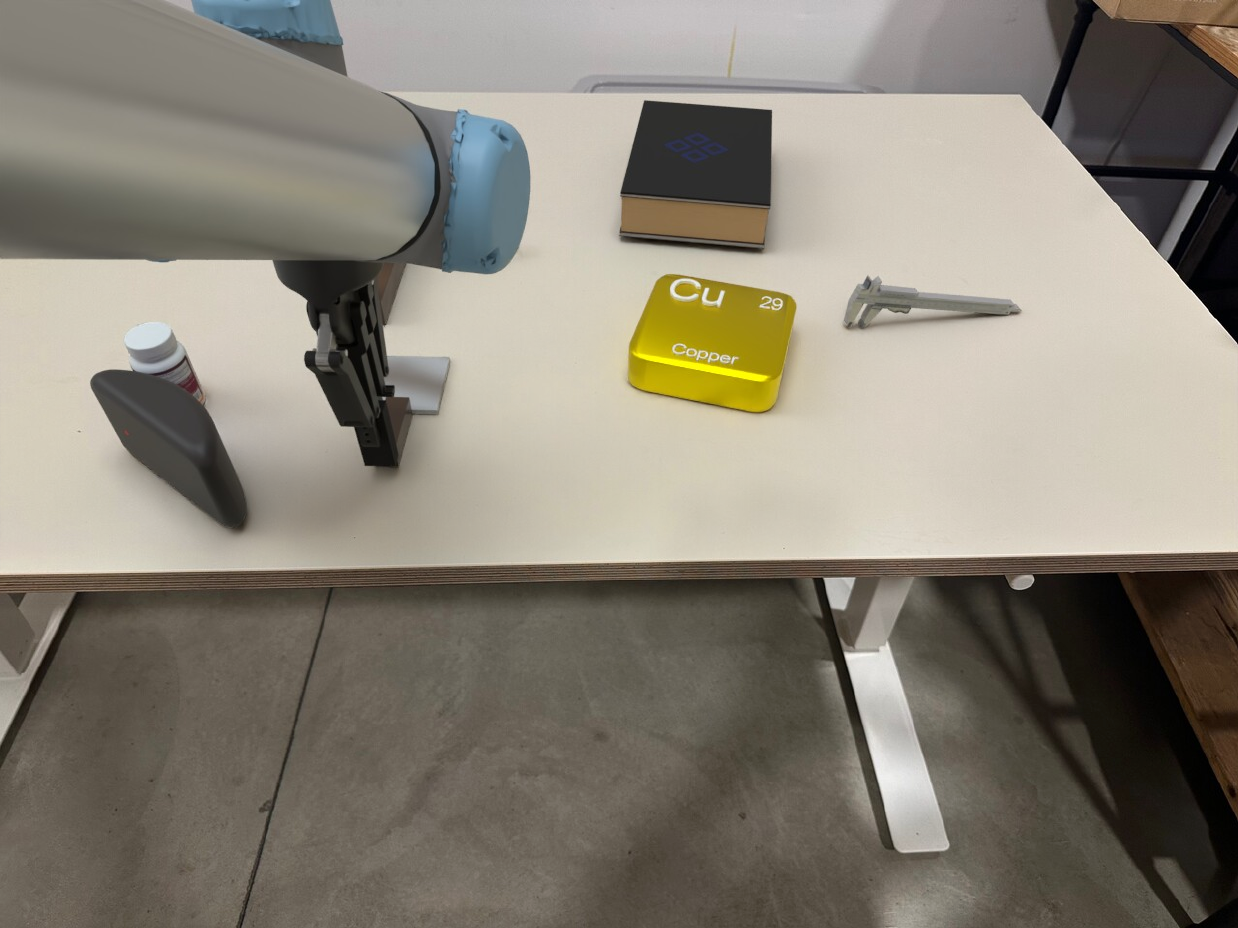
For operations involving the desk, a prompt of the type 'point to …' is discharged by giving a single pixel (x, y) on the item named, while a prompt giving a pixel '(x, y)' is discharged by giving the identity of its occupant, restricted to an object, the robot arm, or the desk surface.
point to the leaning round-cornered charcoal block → (172, 439)
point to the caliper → (915, 302)
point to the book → (699, 175)
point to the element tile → (712, 342)
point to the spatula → (414, 391)
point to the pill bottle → (162, 356)
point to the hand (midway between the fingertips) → (381, 460)
